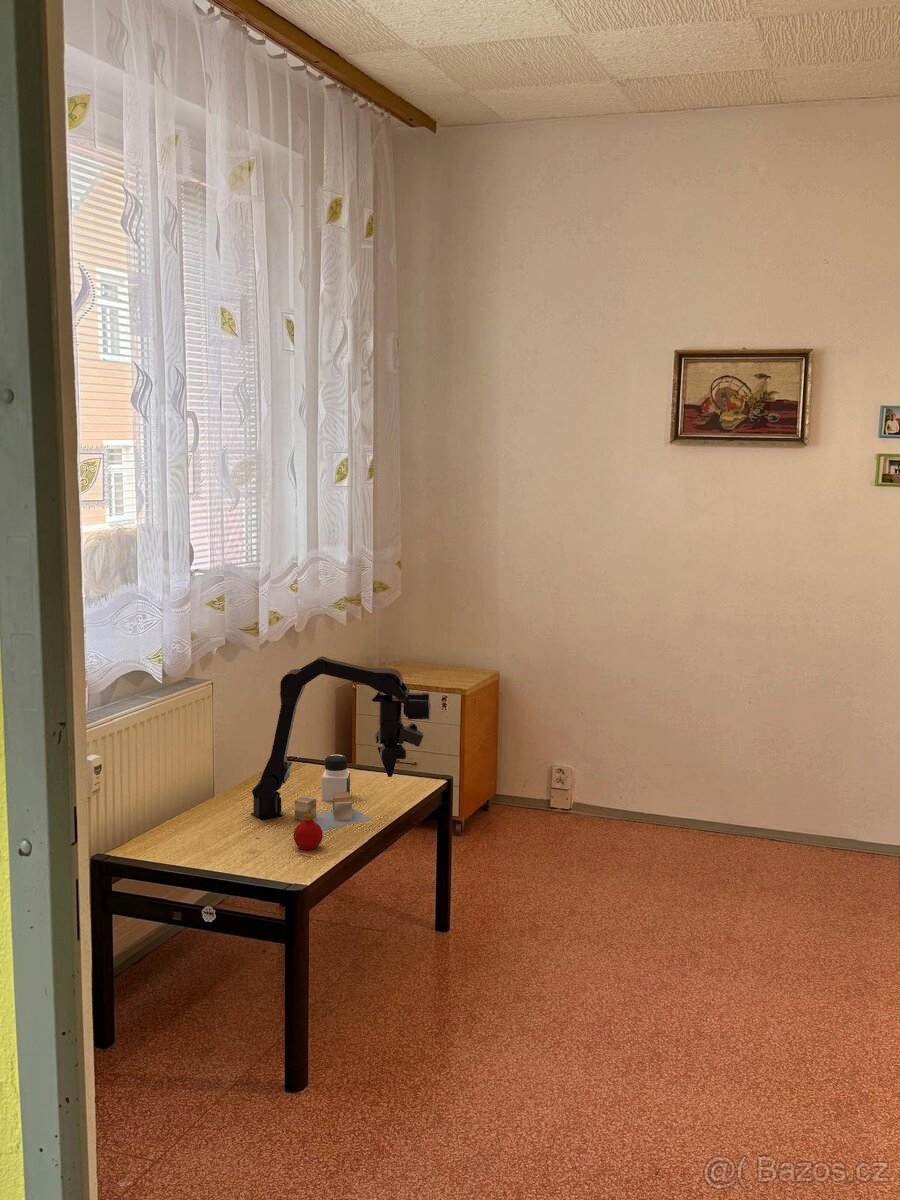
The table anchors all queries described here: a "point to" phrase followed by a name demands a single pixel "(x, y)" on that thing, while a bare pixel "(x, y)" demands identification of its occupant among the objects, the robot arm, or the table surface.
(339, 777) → the medicine bottle
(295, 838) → the christmas ornament
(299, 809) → the maple block
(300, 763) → the table surface
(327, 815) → the mat
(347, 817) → the walnut block
